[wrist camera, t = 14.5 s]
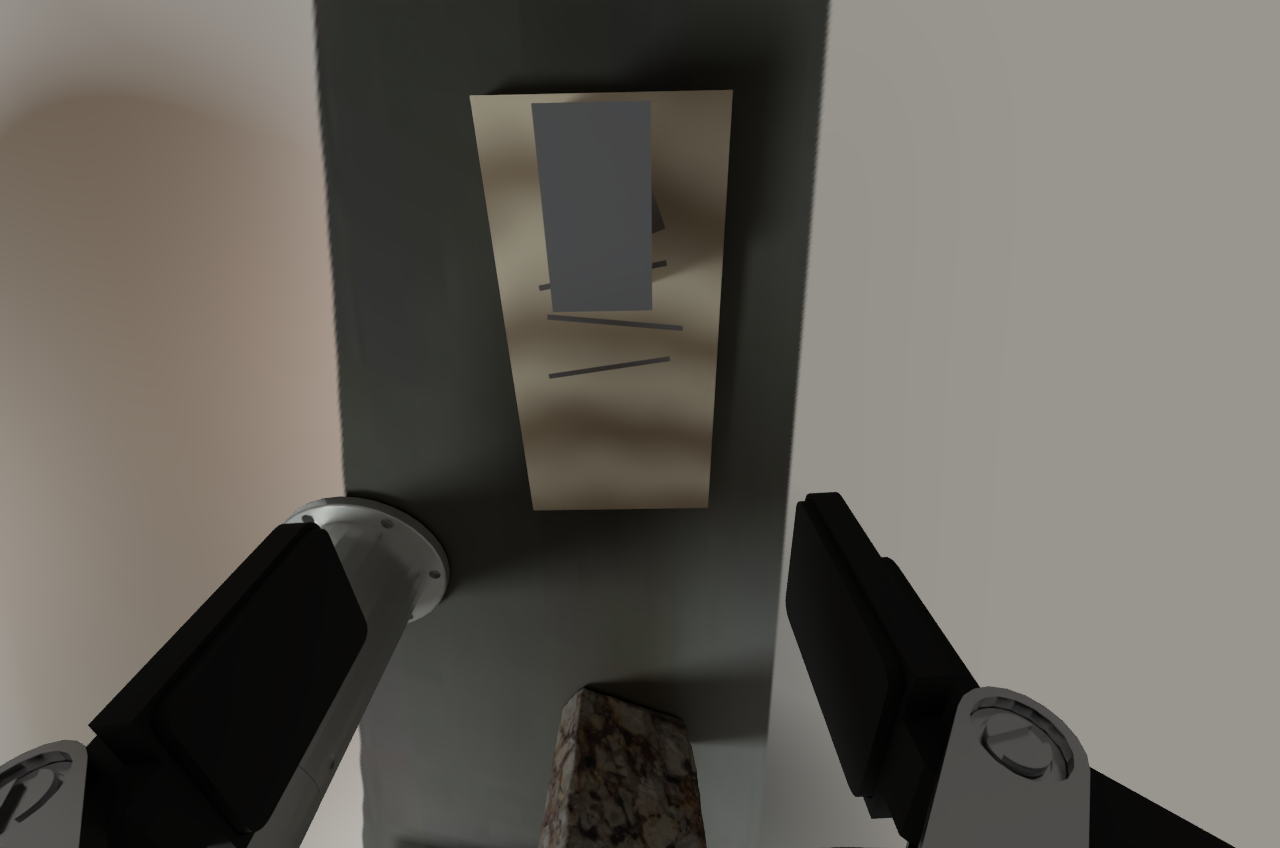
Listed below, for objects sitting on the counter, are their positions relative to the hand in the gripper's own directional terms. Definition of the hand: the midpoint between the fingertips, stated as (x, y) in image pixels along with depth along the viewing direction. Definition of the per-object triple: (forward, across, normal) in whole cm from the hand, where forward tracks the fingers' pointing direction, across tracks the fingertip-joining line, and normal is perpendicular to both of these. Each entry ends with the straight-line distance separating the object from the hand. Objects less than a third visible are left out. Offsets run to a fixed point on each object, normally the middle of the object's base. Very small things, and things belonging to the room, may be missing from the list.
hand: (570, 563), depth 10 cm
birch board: (+22, 0, +2) cm, 22 cm away
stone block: (+23, +1, +41) cm, 47 cm away
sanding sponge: (+20, 0, -5) cm, 20 cm away
